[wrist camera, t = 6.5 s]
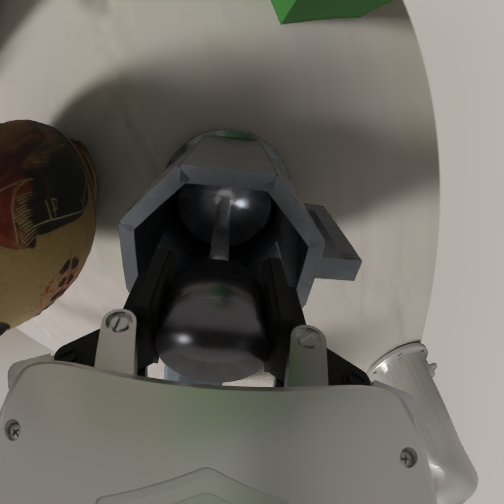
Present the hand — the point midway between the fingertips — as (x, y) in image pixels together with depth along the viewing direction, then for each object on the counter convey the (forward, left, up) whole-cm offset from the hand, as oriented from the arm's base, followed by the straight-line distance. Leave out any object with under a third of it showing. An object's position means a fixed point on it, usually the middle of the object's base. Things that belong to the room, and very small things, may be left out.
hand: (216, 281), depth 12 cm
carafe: (-1, 0, -13) cm, 13 cm away
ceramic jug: (+17, +1, -13) cm, 22 cm away
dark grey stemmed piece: (0, 0, -10) cm, 10 cm away
